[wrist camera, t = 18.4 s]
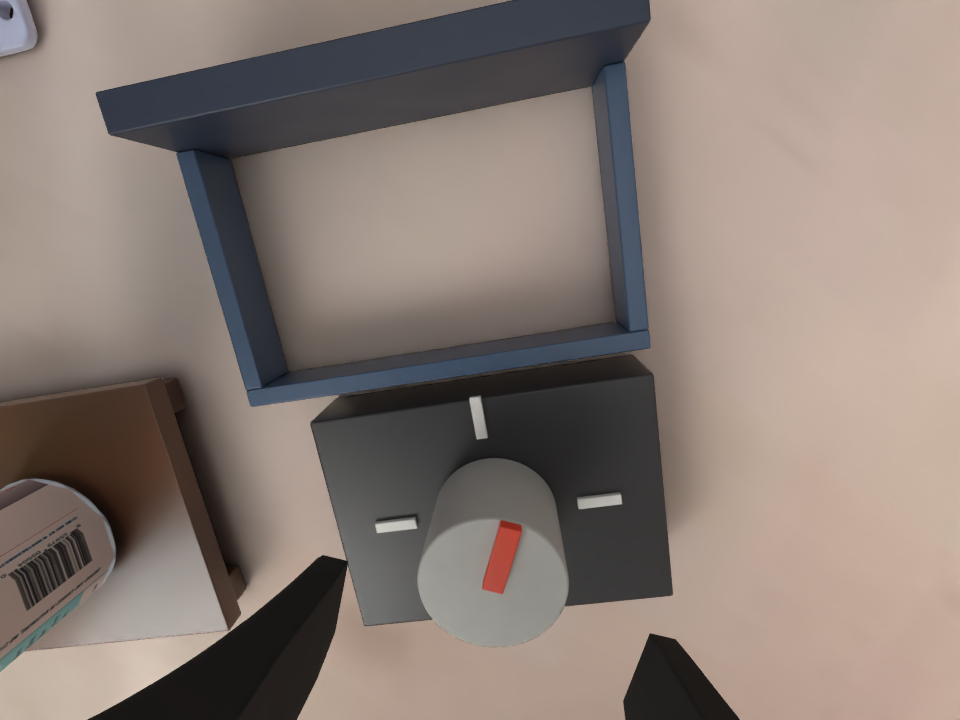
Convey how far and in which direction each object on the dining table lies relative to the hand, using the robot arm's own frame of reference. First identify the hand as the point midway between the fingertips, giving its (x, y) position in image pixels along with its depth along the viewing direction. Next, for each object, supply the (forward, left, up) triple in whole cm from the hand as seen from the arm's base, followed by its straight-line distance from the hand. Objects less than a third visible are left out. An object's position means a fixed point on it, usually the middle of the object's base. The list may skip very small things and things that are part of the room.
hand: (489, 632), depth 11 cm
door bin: (-9, -1, -8) cm, 12 cm away
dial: (0, 0, -5) cm, 5 cm away
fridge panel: (0, 0, -8) cm, 8 cm away
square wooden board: (-1, -16, -8) cm, 18 cm away
